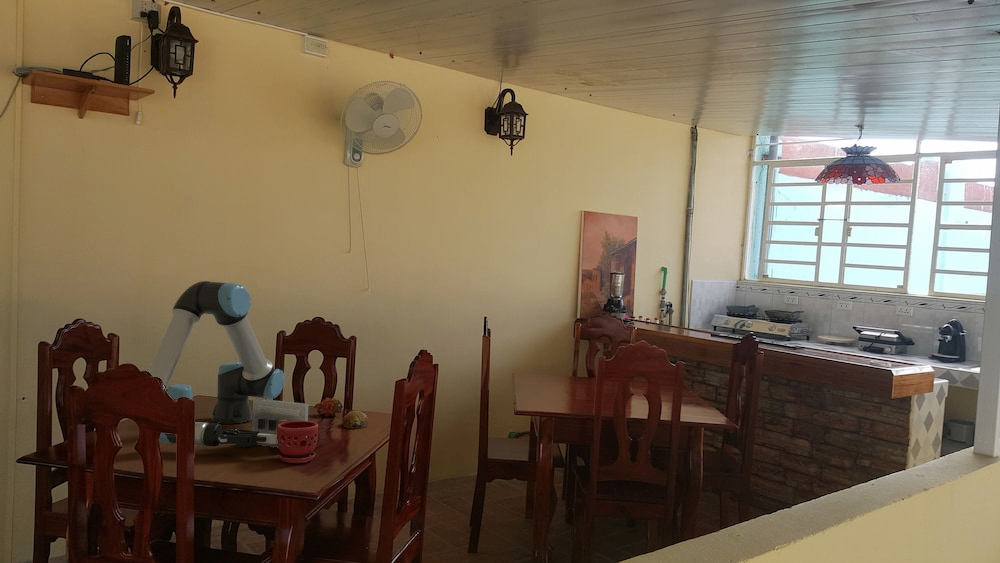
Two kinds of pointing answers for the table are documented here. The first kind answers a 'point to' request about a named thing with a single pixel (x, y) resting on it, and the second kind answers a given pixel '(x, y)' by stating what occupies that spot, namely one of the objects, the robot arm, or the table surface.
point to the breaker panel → (275, 415)
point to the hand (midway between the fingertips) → (277, 439)
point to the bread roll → (355, 420)
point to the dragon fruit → (329, 407)
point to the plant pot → (297, 441)
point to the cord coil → (244, 445)
